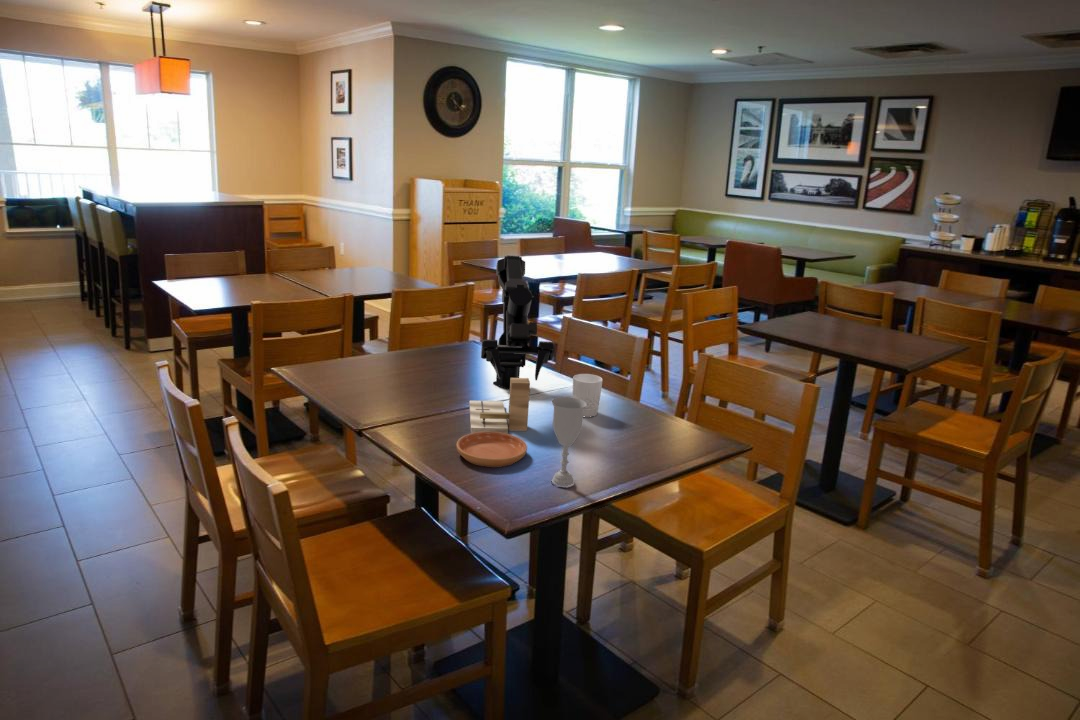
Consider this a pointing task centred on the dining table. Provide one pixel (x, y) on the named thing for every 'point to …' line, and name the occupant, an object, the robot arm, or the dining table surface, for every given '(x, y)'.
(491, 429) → the birch board
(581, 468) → the dining table surface
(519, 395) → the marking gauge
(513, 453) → the saucer
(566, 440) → the chalice
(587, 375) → the white cup
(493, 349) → the robot arm
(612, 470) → the dining table surface
